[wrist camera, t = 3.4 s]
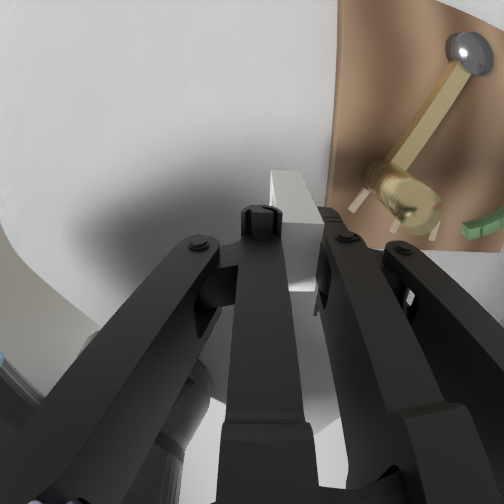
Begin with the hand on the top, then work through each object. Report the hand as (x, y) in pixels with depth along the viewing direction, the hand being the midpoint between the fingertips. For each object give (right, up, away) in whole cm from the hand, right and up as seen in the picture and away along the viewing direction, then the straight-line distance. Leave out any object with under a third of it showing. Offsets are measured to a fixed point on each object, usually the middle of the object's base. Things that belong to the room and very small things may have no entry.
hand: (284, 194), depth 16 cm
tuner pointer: (+9, +6, 0) cm, 11 cm away
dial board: (+12, +6, +2) cm, 14 cm away
